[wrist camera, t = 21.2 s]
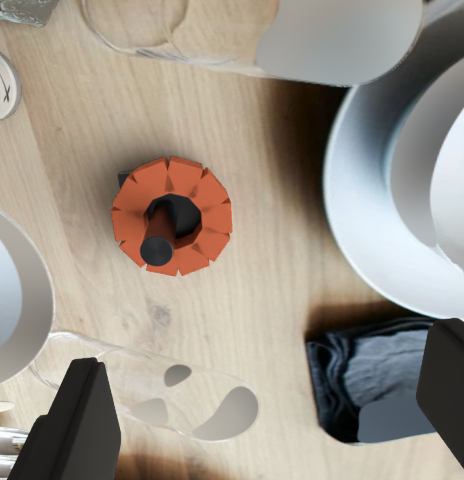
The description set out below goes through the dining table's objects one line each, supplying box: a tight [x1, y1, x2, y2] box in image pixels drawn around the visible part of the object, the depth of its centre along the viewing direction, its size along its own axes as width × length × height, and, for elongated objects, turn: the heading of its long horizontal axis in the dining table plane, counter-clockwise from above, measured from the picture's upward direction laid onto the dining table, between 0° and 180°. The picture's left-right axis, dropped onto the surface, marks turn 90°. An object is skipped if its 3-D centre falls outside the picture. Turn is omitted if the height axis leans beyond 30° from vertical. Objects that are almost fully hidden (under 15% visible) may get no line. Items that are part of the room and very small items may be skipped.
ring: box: [111, 156, 232, 276], centre depth 34 cm, size 11×11×3 cm
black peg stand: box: [118, 166, 203, 267], centre depth 31 cm, size 8×8×12 cm
